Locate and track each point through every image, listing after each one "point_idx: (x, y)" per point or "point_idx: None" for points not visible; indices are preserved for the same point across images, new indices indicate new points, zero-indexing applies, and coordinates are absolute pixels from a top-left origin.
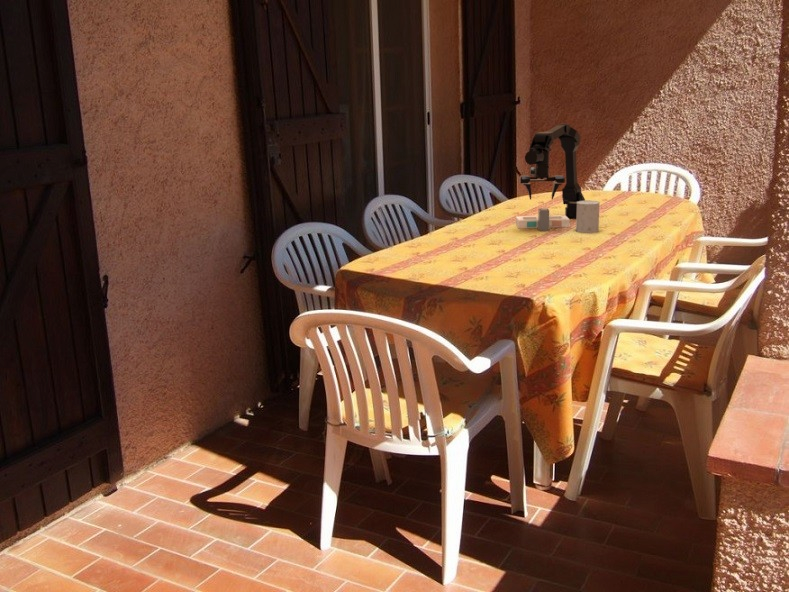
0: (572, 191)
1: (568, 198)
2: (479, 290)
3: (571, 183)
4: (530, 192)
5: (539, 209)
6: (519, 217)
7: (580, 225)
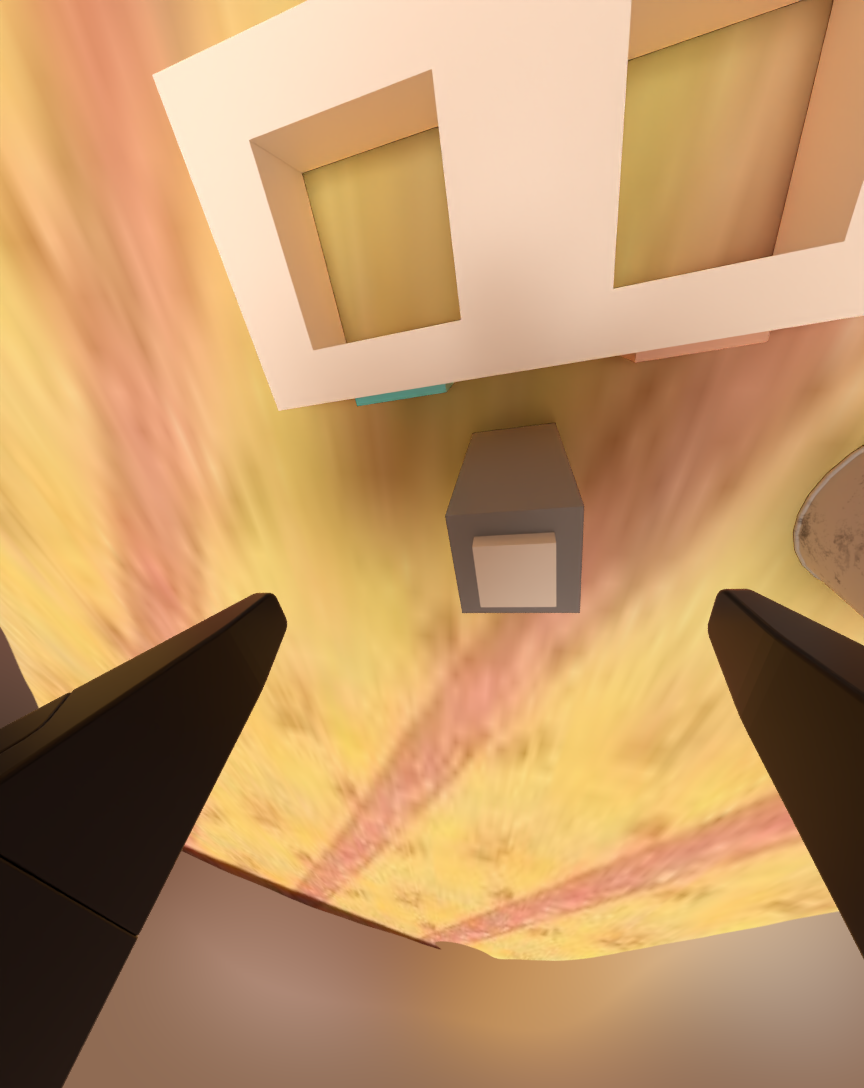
0: None
1: None
2: (368, 918)
3: None
4: (200, 789)
5: (458, 555)
6: (223, 173)
7: (849, 603)
